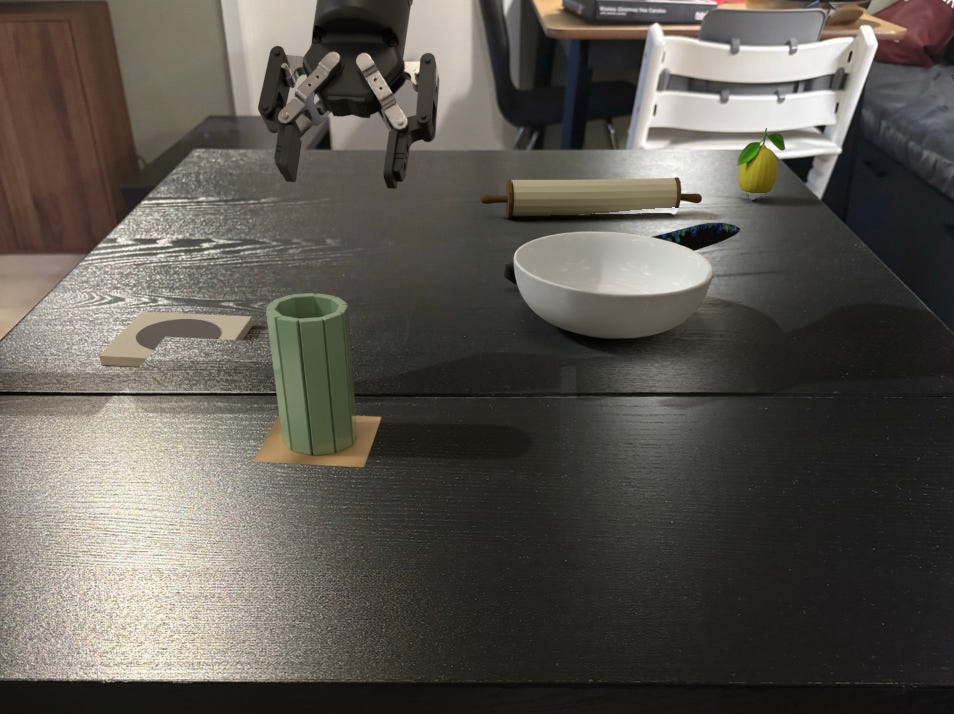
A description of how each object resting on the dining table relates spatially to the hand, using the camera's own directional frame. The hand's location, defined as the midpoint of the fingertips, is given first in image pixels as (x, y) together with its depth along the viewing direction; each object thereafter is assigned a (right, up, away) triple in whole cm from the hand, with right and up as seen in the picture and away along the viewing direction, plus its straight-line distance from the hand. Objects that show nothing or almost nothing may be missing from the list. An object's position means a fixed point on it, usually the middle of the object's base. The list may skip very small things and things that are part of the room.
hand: (338, 179), depth 75 cm
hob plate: (-19, -7, +21) cm, 29 cm away
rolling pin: (+27, +24, +60) cm, 70 cm away
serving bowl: (+25, -3, +27) cm, 37 cm away
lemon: (+53, +30, +68) cm, 91 cm away
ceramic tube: (-2, -20, +3) cm, 20 cm away
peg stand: (-2, -21, +4) cm, 22 cm away
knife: (+29, +7, +38) cm, 49 cm away
